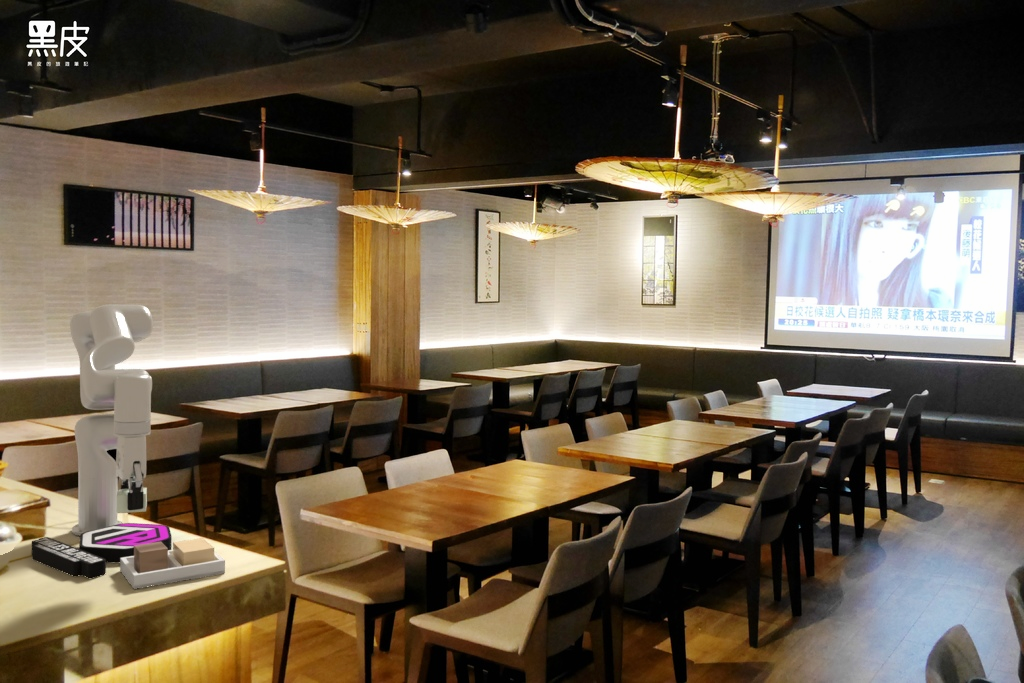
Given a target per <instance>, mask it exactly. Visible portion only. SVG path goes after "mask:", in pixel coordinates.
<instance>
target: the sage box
mask: <svg viewBox="0 0 1024 683" xmlns="http://www.w3.org/2000/svg"><path fill="white" fill-rule="evenodd" d="M147 489H148V487H143V509H138V510H128V492H129V489H121V488H118V492H117V514H125V513H127V514H128V513H129V514H130V513H139V512H140V513H141V512H142V513H143V512H147V506H148V501H147V499H148V498H147V497H148V496H147V494H148V490H147Z"/></svg>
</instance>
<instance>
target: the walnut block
mask: <svg viewBox="0 0 1024 683" xmlns="http://www.w3.org/2000/svg"><path fill="white" fill-rule="evenodd" d="M134 569H135V570H136V572H137V573H144V572H150V571H156V570H162V569H168V548H167V547H166V546H165V545H164V544H163V543H162V542H154V543H148V544H141V545H134Z"/></svg>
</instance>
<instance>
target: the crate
mask: <svg viewBox="0 0 1024 683" xmlns="http://www.w3.org/2000/svg"><path fill="white" fill-rule="evenodd" d="M119 566H120V567H119V571H121V572H122V573H121V572H120V573H121V574H122V576H123V575H124V576H125V577H126V578H125V577H124V578H125V579H127V580H128V581H129V582H128V581H127V580H126V581H127V582H128V583H129V585H130V584H131V585H132V586H131V585H130V586H131V587H132V589H133V588H134V589H136V590H138V589H137V588H141V589H143V588H142V587H147V586H151V585H152V587H154V586H153V585H158V586H160V585H159V584H164V585H166V584H165V583H169V584H172V583H171V582H175V583H177V582H176V581H180V582H183V581H182V580H186V581H190V580H189V579H191V580H196V579H195V578H197V579H200V577H203V578H206V577H205V576H208V577H212V575H214V576H217V575H216V574H219V575H223V574H222V573H225V574H226V559H224V558H223V557H222V556H220V554H219V553H217V552H216V551H215V547H214V546H213V545H212V544H210V543H209V542H208V541H207V540H206V539H205V538H203V537H201V538H191V539H188V540H187V539H186V540H180V541H173V542H172V549H171V550H168V569H162V570H156V571H150V572H144V573H137V572H136V570H135V569H134V556H129V557H123V558H120V563H119ZM147 588H148V587H147ZM134 589H133V590H134Z"/></svg>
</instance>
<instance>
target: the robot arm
mask: <svg viewBox="0 0 1024 683" xmlns="http://www.w3.org/2000/svg"><path fill="white" fill-rule="evenodd" d="M69 327H70V328H69V329H70V330H69V331H70V335H71V340H72V341H73V344H74V347H75V349H76V352H77V355H78V359H79V386H80V387H79V390H80V391H79V393H80V394H79V395H80V402H81V405H82V407H84V408H85V409H88V410H94V411H95V410H96V411H97V410H99V411H100V410H113V412H114V413H105V414H104V413H103V414H91V415H86V416H84V417H81V418H80V419H78V420H77V421H76V423H75V425H74V438H75V444H76V449H77V450H76V451H77V458H78V459H77V465H78V466H77V468H78V472H77V473H78V474H77V475H78V477H77V478H78V487H77V488H78V490H77V492H78V494H77V496H78V499H77V500H78V501H77V502H78V505H77V506H78V507H77V508H78V515H77V516H78V518H77V519H78V520H77V521H78V522H77V524H75V525H73V526H72V528H71V533H72V534H73V535H75V536H78V535H79V536H78V537H80V535H81V534H82V533H84V532H87V531H91V530H96V529H100V528H104V527H109V526H113V525H117V524H123V523H124V522H123V521H120V520H118V513H117V492H118V489H119V488H118V486H119V485H118V481H119V480H118V478H120V480H121V485H120V489H129V492H128V510H138V509H143V488H144V482H143V480H144V479H145V478H146V477H147V437H146V436H149V435H151V432H152V431H151V427H152V426H151V425H152V423H151V422H152V421H151V420H152V419H151V417H152V416H151V413H152V412H151V411H152V410H151V408H152V405H151V404H152V390H153V379H152V376H151V375H150V374H149V372H148V371H146V370H145V369H141V368H129V369H127V368H126V369H125V368H124V369H123V368H122V369H120V368H119V369H117V368H116V365H117V364H120V363H122V362H124V361H127V359H129V358H130V357H131V356H132V355H133V353H134V352H135V343H139V342H141V341H143V340H146V339H147V338H148V337H149V336H150V335H151V333H152V331H153V329H154V320H153V316H152V312H151V311H150V310H149V308H148V307H146V306H145V305H142V304H115V303H113V304H109V303H108V304H107V303H106V304H103V305H99V306H97V307H95V308H94V309H93V310H86V311H79V312H76V313H75V314H73V315H72V316H71V318H70V323H69ZM109 450H110V451H111V450H116V455H115V456H116V457H115V459H114V458H113V457H112V456H111V455H110V454H109V453H108V452H107V451H109Z"/></svg>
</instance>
